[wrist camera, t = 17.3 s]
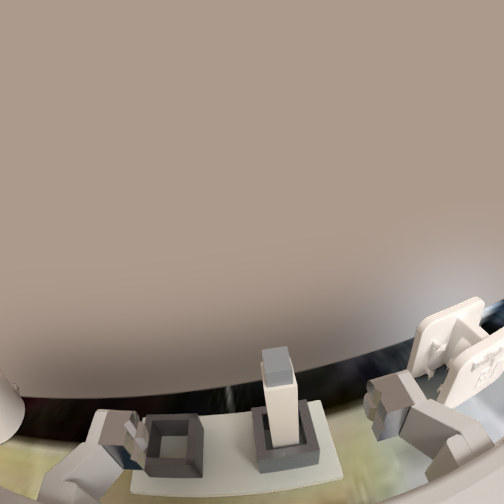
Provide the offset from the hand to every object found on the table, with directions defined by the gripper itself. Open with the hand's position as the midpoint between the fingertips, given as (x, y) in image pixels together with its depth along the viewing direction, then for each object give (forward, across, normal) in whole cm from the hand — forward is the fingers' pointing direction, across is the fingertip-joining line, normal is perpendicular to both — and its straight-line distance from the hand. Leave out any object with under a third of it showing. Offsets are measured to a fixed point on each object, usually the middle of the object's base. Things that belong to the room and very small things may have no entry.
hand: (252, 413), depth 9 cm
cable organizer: (+17, -30, +28) cm, 45 cm away
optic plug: (+14, -2, +27) cm, 31 cm away
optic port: (+14, -2, +27) cm, 30 cm away
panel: (+14, +5, +28) cm, 32 cm away
